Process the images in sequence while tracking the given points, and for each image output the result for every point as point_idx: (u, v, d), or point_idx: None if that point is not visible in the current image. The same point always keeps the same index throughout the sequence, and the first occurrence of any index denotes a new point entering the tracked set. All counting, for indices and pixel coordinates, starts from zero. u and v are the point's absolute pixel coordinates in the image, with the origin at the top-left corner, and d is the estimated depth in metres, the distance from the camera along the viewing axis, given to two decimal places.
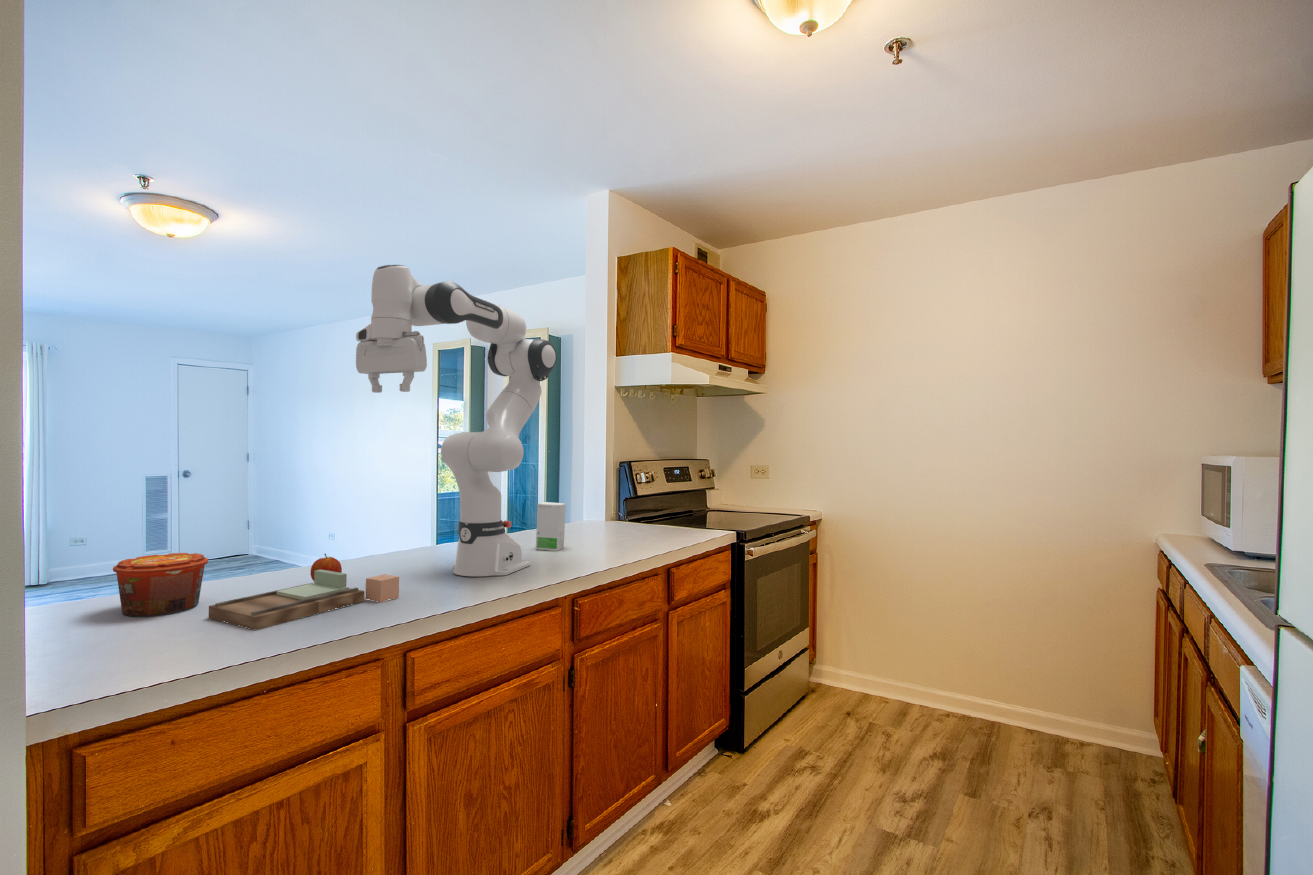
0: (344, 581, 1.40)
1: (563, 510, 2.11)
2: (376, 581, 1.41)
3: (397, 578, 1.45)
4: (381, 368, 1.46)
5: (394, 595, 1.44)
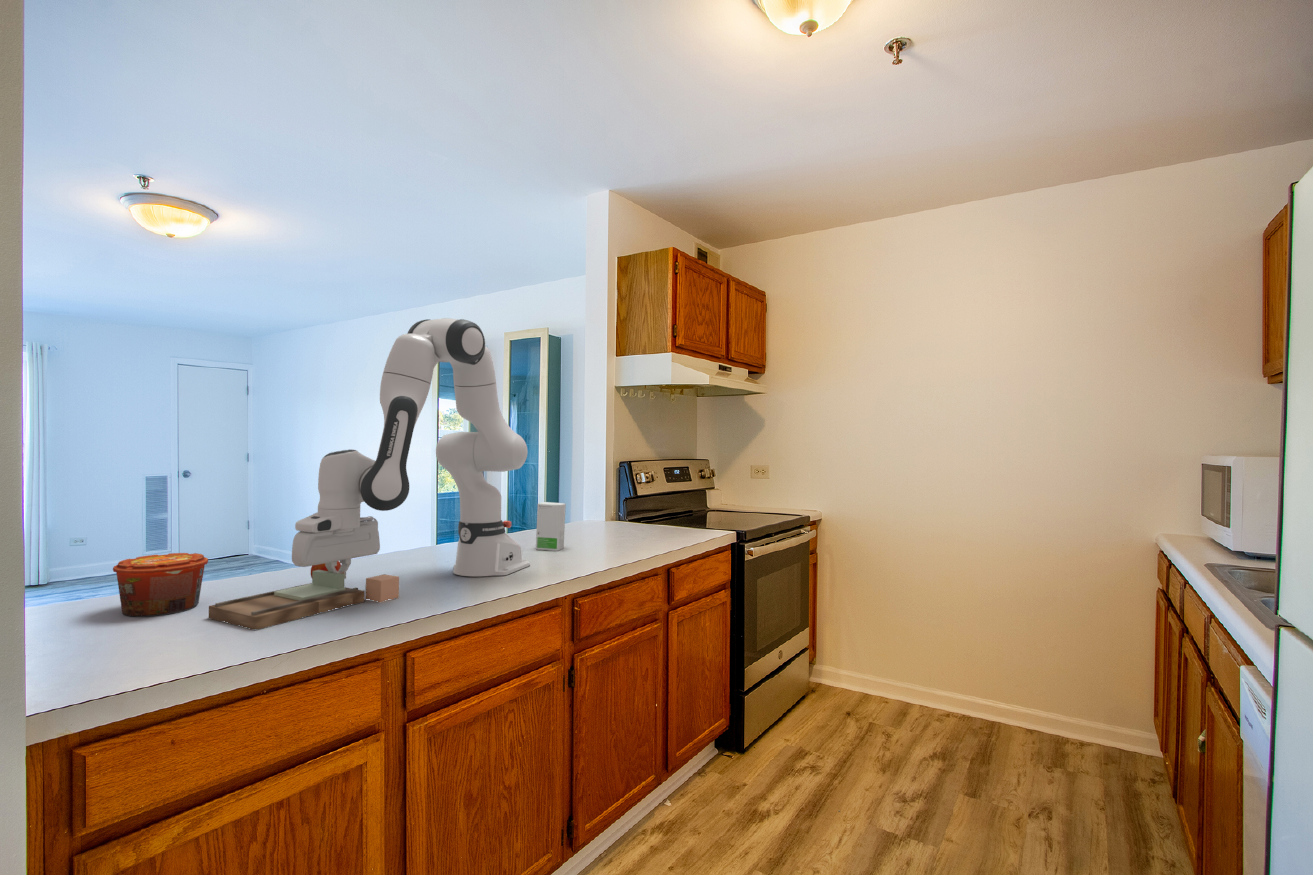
0: (342, 581, 1.40)
1: (563, 510, 2.11)
2: (376, 581, 1.41)
3: (397, 578, 1.45)
4: (339, 557, 1.42)
5: (394, 595, 1.44)
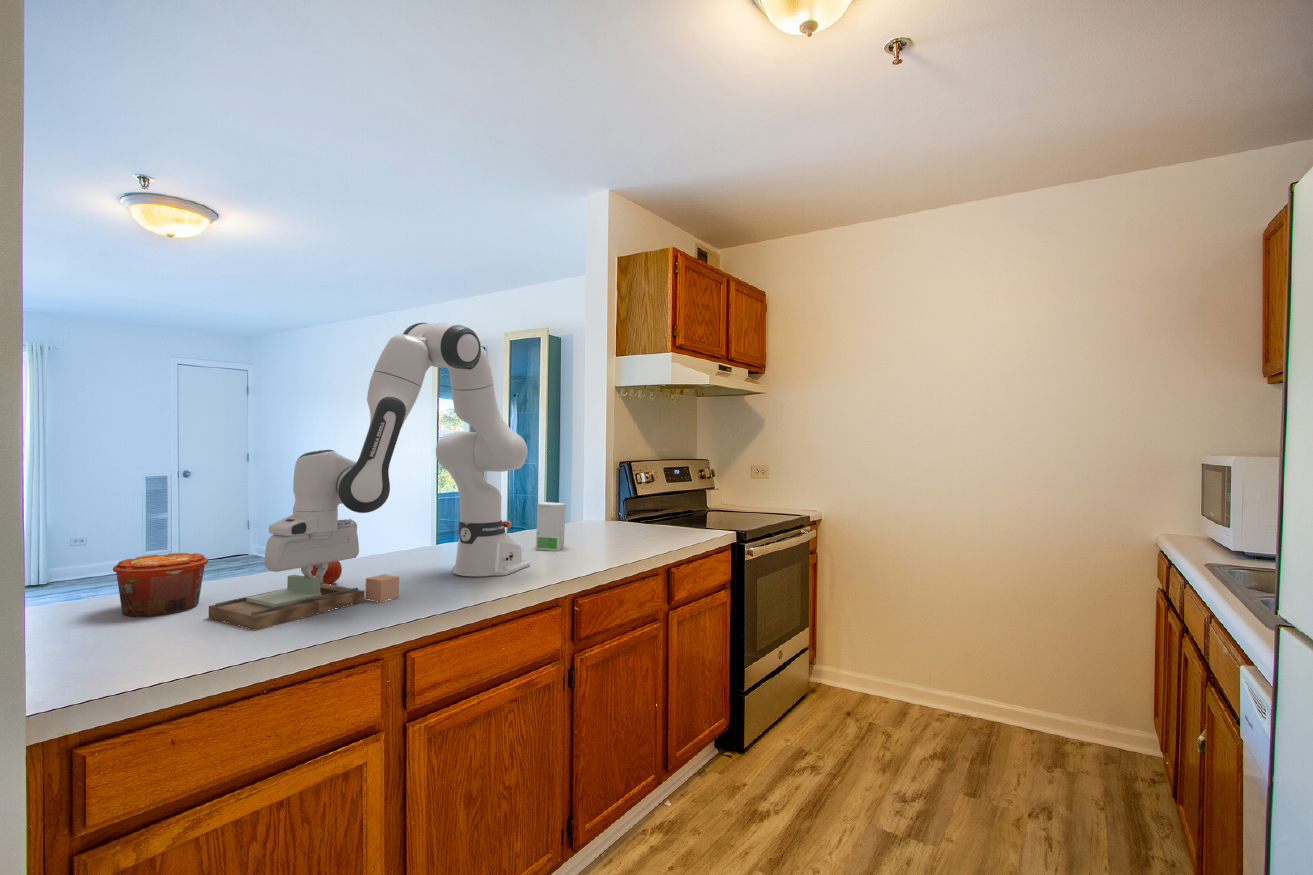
0: (318, 587, 1.35)
1: (563, 510, 2.11)
2: (376, 581, 1.41)
3: (397, 578, 1.45)
4: (315, 561, 1.37)
5: (394, 595, 1.44)
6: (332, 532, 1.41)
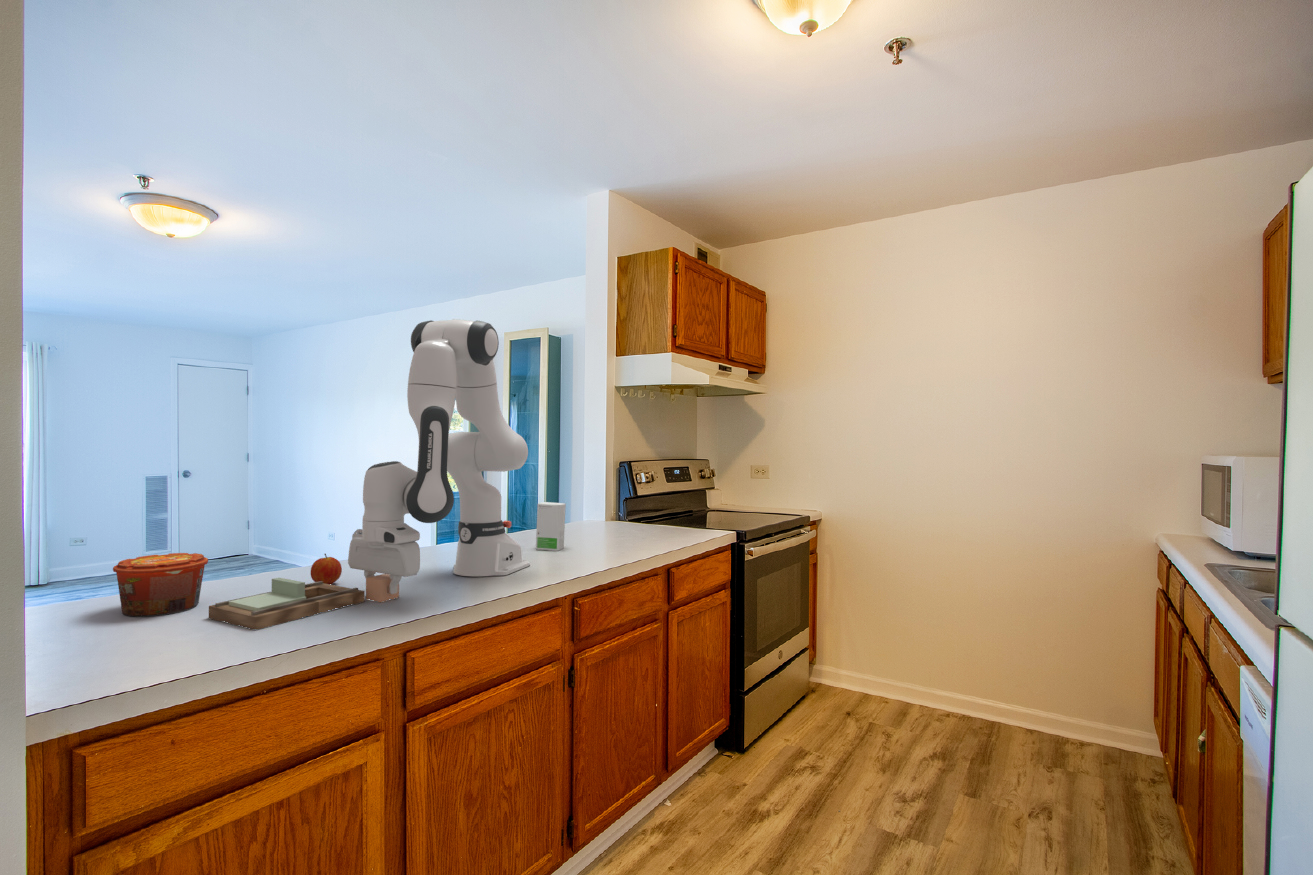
0: (302, 590, 1.32)
1: (563, 510, 2.11)
2: (376, 581, 1.41)
3: None
4: None
5: (394, 595, 1.44)
6: None
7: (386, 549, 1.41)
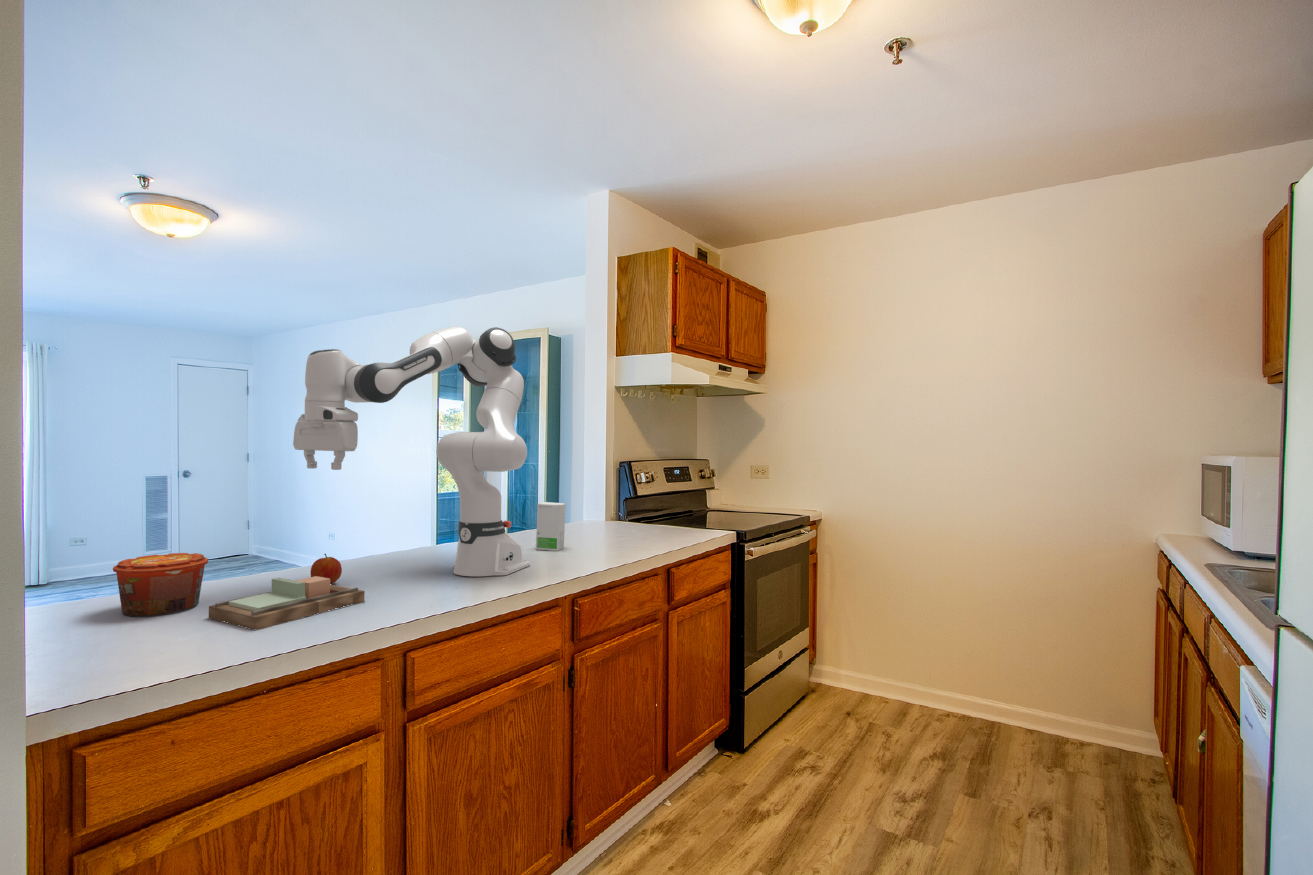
0: (302, 590, 1.32)
1: (563, 510, 2.11)
2: None
3: (328, 580, 1.39)
4: None
5: None
6: None
7: (326, 427, 1.52)
